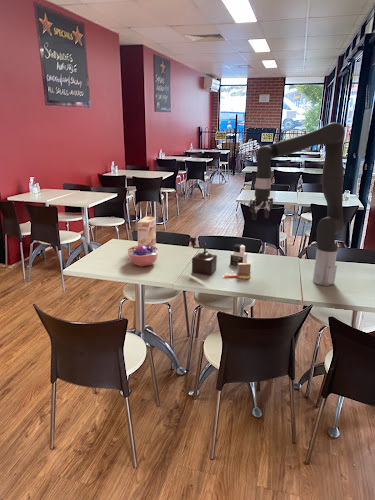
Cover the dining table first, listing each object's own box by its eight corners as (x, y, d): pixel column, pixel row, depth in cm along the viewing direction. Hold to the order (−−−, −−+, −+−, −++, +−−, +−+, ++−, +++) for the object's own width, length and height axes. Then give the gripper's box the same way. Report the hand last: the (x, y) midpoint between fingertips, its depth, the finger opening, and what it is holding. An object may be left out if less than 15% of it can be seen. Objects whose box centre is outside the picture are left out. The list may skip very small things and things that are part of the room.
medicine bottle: (229, 266, 205) (230, 245, 201) (234, 262, 211) (235, 242, 207) (242, 269, 202) (243, 247, 198) (246, 265, 208) (248, 244, 204)
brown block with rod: (248, 273, 191) (249, 261, 189) (252, 279, 185) (253, 265, 183) (222, 274, 190) (222, 261, 187) (225, 280, 183) (226, 266, 181)
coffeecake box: (148, 254, 223) (148, 222, 217) (137, 253, 225) (136, 221, 219) (156, 247, 237) (156, 216, 231) (145, 246, 238) (145, 216, 232)
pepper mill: (217, 271, 198) (218, 238, 192) (210, 278, 188) (211, 244, 183) (190, 267, 204) (190, 235, 198) (182, 273, 194) (182, 240, 188)
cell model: (161, 259, 215) (161, 240, 212) (155, 271, 196) (154, 251, 193) (132, 257, 217) (131, 238, 213) (123, 269, 198) (122, 249, 195)
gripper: (257, 189, 180) (255, 222, 185) (278, 187, 188) (275, 218, 193) (247, 187, 186) (245, 219, 191) (267, 185, 194) (264, 215, 199)
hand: (260, 218), depth 192 cm, fingers open, 8 cm apart
